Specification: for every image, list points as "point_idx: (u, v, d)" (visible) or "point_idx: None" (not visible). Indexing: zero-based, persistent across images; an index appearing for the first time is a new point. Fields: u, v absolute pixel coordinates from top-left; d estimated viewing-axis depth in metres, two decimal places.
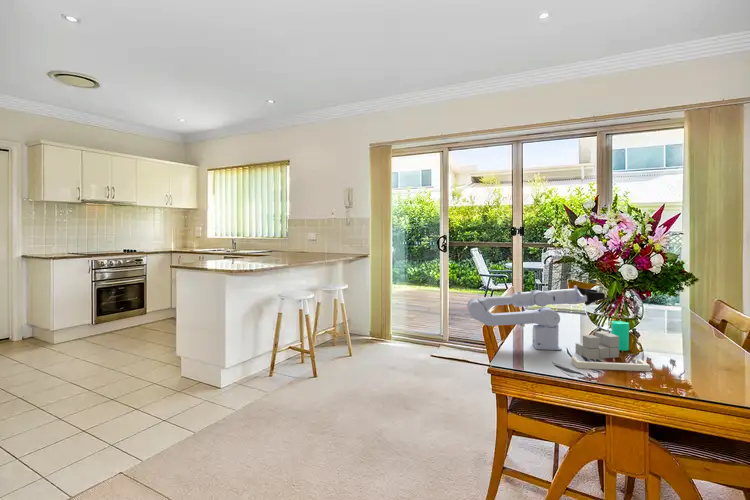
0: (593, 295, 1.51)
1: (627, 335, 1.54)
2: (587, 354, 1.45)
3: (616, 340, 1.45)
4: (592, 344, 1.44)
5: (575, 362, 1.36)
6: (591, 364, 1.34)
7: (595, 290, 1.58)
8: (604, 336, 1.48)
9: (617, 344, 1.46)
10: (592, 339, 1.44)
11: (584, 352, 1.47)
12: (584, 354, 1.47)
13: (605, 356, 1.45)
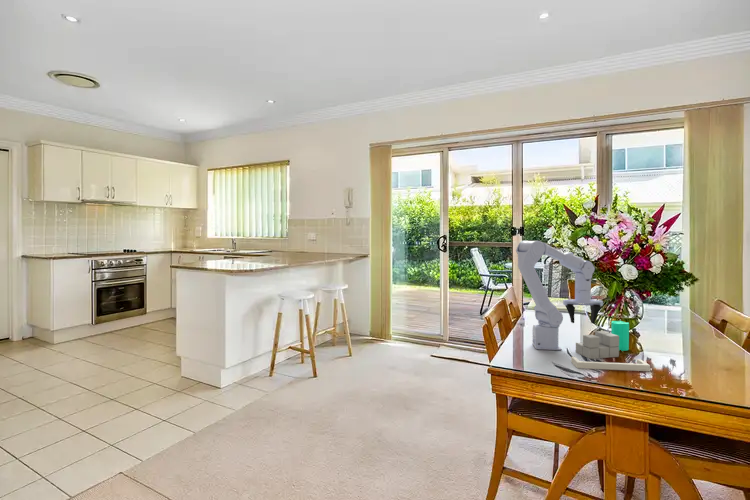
0: None
1: (627, 335, 1.54)
2: (587, 354, 1.46)
3: (616, 340, 1.46)
4: (592, 344, 1.45)
5: (575, 362, 1.36)
6: (591, 364, 1.34)
7: None
8: (604, 336, 1.48)
9: (617, 344, 1.46)
10: (592, 339, 1.44)
11: (584, 352, 1.47)
12: (584, 354, 1.47)
13: (605, 356, 1.46)
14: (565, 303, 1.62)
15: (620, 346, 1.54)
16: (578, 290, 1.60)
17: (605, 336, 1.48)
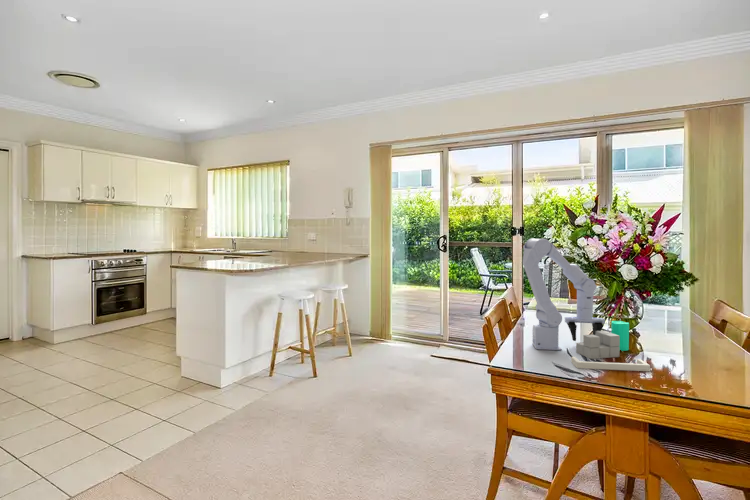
0: None
1: (627, 335, 1.54)
2: (588, 353, 1.46)
3: (617, 339, 1.46)
4: (592, 343, 1.44)
5: (575, 362, 1.36)
6: (591, 364, 1.34)
7: None
8: (605, 335, 1.48)
9: (618, 343, 1.46)
10: (593, 338, 1.44)
11: (585, 351, 1.47)
12: (585, 353, 1.47)
13: (606, 355, 1.45)
14: (567, 321, 1.60)
15: (620, 346, 1.54)
16: (580, 308, 1.58)
17: (605, 336, 1.48)
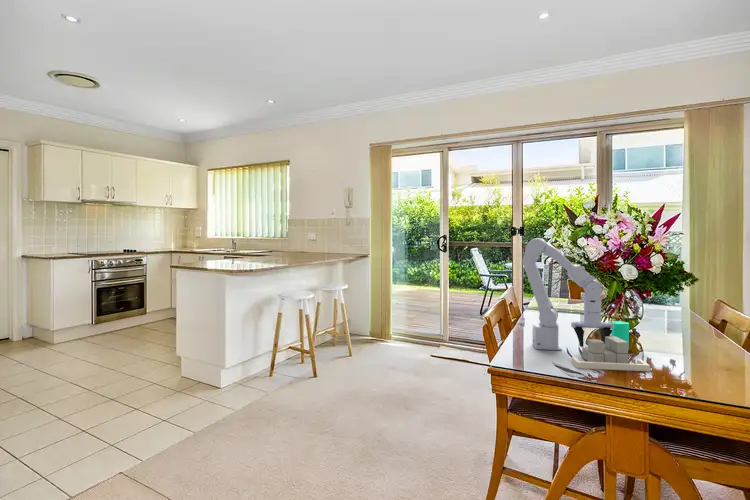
0: None
1: (627, 335, 1.54)
2: (591, 359, 1.39)
3: (624, 346, 1.38)
4: (595, 349, 1.38)
5: (575, 362, 1.36)
6: (591, 364, 1.34)
7: None
8: (612, 341, 1.40)
9: (626, 350, 1.38)
10: (596, 343, 1.38)
11: (588, 357, 1.41)
12: (588, 359, 1.41)
13: (611, 362, 1.38)
14: (573, 326, 1.52)
15: None
16: (587, 312, 1.50)
17: (613, 342, 1.40)
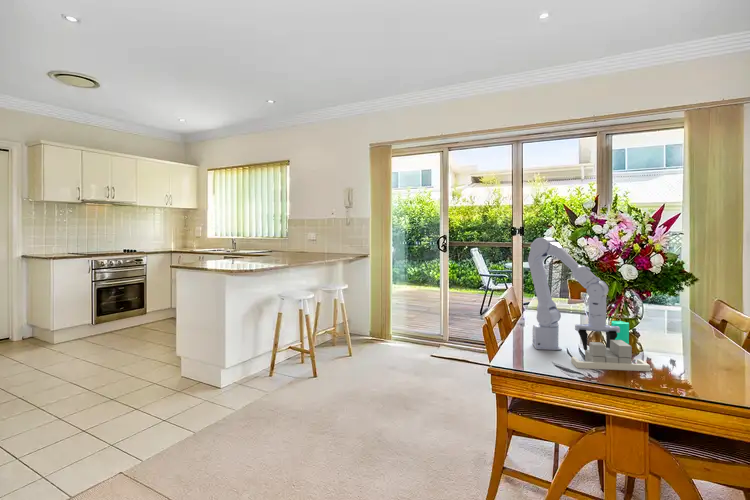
0: None
1: (627, 335, 1.54)
2: None
3: (628, 350, 1.33)
4: (596, 352, 1.35)
5: (575, 362, 1.36)
6: (591, 364, 1.34)
7: None
8: (615, 345, 1.36)
9: (629, 355, 1.33)
10: (596, 346, 1.35)
11: (590, 360, 1.38)
12: None
13: None
14: (577, 328, 1.47)
15: None
16: (592, 315, 1.45)
17: (616, 345, 1.36)
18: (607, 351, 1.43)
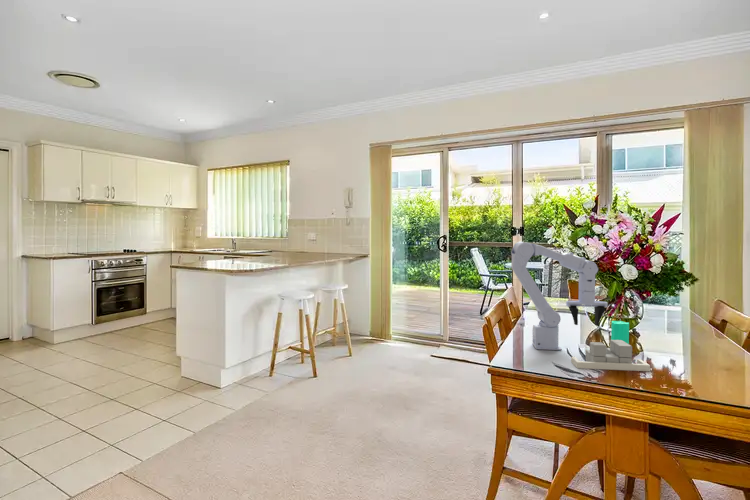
0: None
1: (627, 335, 1.54)
2: None
3: (628, 350, 1.33)
4: (597, 352, 1.35)
5: (575, 362, 1.36)
6: (591, 364, 1.34)
7: None
8: (616, 345, 1.36)
9: (629, 354, 1.33)
10: (597, 346, 1.35)
11: (590, 360, 1.38)
12: None
13: None
14: (568, 304, 1.57)
15: None
16: (582, 291, 1.55)
17: (616, 345, 1.36)
18: (607, 351, 1.43)
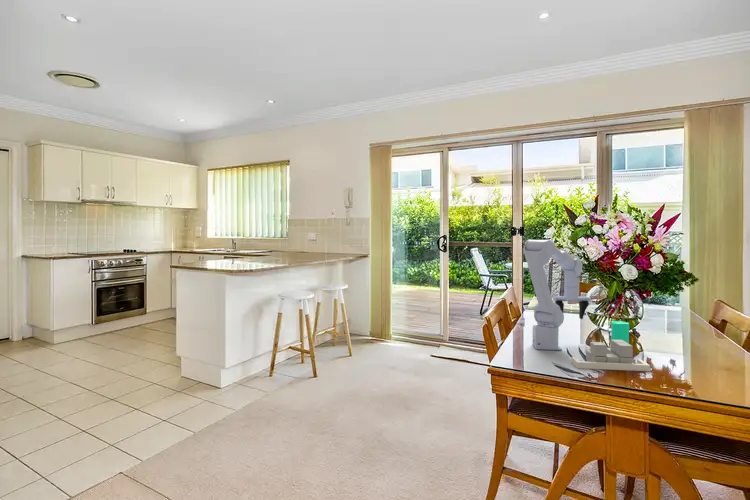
0: None
1: (627, 335, 1.54)
2: None
3: (629, 350, 1.34)
4: (597, 352, 1.35)
5: (575, 362, 1.36)
6: (591, 364, 1.34)
7: None
8: (616, 345, 1.37)
9: (630, 354, 1.34)
10: (598, 346, 1.35)
11: (591, 360, 1.38)
12: None
13: None
14: (554, 299, 1.68)
15: None
16: (567, 287, 1.67)
17: (617, 345, 1.36)
18: (608, 351, 1.44)
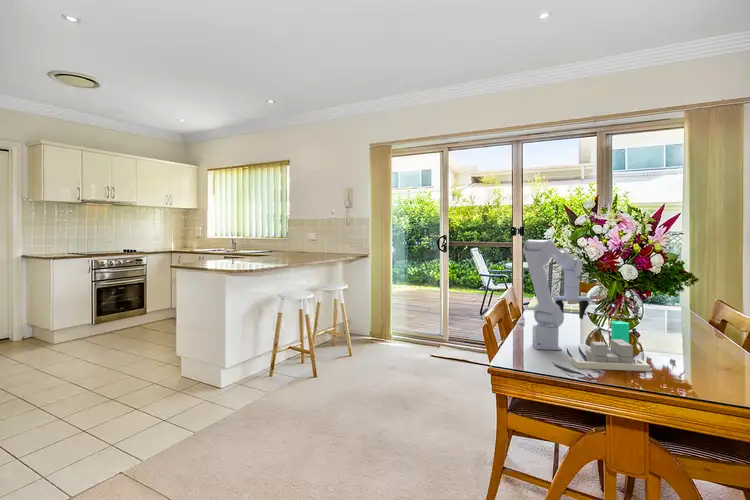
0: None
1: (627, 335, 1.54)
2: None
3: (629, 349, 1.34)
4: (598, 351, 1.35)
5: (575, 362, 1.36)
6: (591, 364, 1.34)
7: None
8: (617, 344, 1.37)
9: (630, 354, 1.34)
10: (598, 346, 1.35)
11: (591, 359, 1.38)
12: (591, 361, 1.38)
13: None
14: (554, 299, 1.68)
15: None
16: (567, 287, 1.67)
17: (617, 345, 1.36)
18: (608, 351, 1.44)
